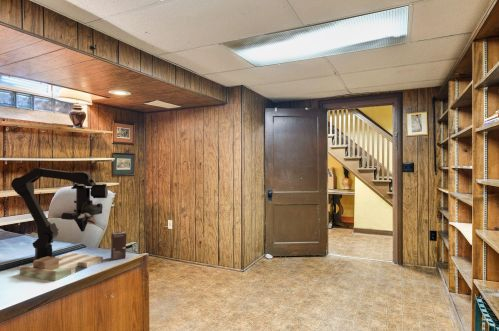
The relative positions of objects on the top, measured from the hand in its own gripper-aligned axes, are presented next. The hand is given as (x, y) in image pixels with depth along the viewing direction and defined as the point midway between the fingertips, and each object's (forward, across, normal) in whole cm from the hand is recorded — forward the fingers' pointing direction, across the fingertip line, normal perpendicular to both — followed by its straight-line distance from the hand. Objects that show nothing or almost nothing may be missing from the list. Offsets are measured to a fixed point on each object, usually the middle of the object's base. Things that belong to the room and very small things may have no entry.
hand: (82, 231), depth 143 cm
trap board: (+12, -14, -4) cm, 19 cm away
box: (+12, +4, -17) cm, 21 cm away
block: (+10, -22, -4) cm, 25 cm away
